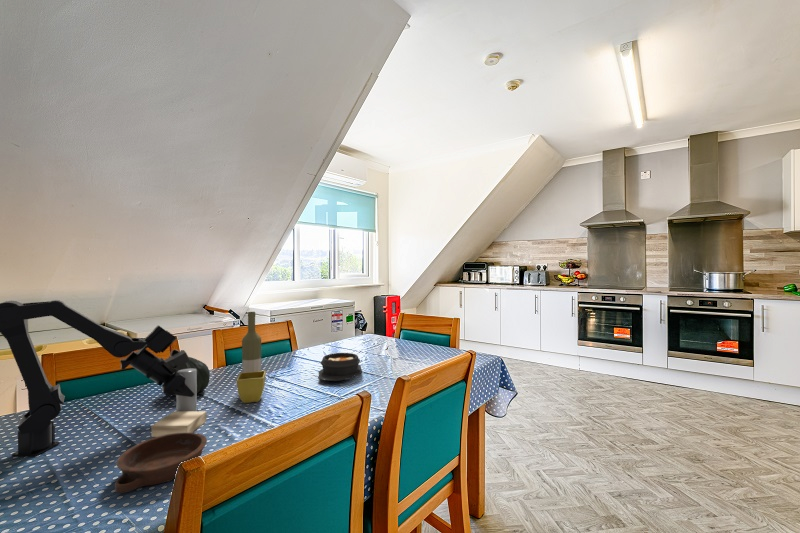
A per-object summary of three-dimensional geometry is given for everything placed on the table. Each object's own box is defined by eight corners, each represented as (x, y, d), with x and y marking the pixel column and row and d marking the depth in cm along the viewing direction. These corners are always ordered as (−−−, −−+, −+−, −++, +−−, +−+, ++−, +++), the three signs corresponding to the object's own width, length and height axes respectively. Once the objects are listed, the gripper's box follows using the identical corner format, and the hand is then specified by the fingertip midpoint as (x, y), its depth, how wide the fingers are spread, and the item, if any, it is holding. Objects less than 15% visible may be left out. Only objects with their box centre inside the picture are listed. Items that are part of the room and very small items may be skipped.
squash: (210, 369, 148) (182, 345, 141) (223, 378, 137) (194, 353, 130) (180, 398, 141) (150, 375, 133) (192, 410, 130) (159, 386, 123)
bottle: (258, 386, 143) (258, 310, 143) (264, 391, 137) (263, 312, 137) (239, 389, 138) (239, 311, 138) (244, 395, 133) (244, 313, 133)
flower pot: (236, 406, 122) (236, 379, 122) (240, 397, 131) (240, 372, 131) (263, 403, 125) (263, 377, 125) (266, 394, 133) (265, 370, 133)
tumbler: (190, 418, 113) (190, 373, 113) (172, 418, 113) (172, 373, 113) (200, 410, 119) (200, 368, 118) (183, 411, 118) (182, 368, 118)
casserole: (350, 387, 142) (350, 365, 142) (307, 383, 146) (306, 362, 146) (370, 369, 166) (370, 351, 166) (332, 366, 170) (332, 349, 170)
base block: (187, 436, 101) (187, 425, 101) (151, 436, 101) (151, 425, 101) (206, 421, 111) (206, 411, 111) (173, 421, 111) (173, 411, 111)
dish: (228, 449, 94) (227, 429, 94) (158, 504, 72) (158, 479, 72) (169, 444, 97) (168, 425, 97) (85, 495, 75) (85, 471, 75)
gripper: (177, 348, 106) (218, 378, 113) (167, 339, 120) (204, 366, 127) (144, 381, 101) (189, 410, 108) (138, 367, 115) (178, 393, 122)
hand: (191, 393), depth 117 cm, fingers closed on tumbler, 6 cm apart
